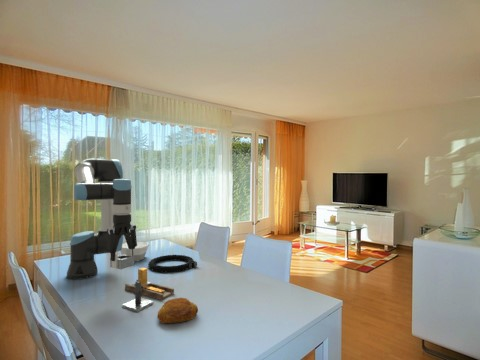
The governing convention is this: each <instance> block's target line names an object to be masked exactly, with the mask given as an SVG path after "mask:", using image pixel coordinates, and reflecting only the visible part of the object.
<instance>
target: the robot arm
mask: <svg viewBox="0 0 480 360" xmlns="http://www.w3.org/2000/svg"><path fill="white" fill-rule="evenodd" d="M123 170H124V169H123V165H122V163H121V161H120V160H119V159H113V158H87V159H84V160H82V161H80V162H79V163H77V164H76V165H75V166H74V169H73V175H74V176H75V178H76V180H77V182H76V183H74V185H73V200H75V201H82V202H83V201H95V200H96V201H98V200H100V214H101V215H100V216H101V217H100V220H101V222H100V228H99V229H98V230H97V233H95V231H93V230H87V231H81V232H77V233H75V234H73V235H72V236H71V237H70V243H69V245H70V259H69V260H70V263H69V265H68V267H67V271H66V278H67V279H69V280H83V279H84V280H85V279H87V278H91V277H94V276H96V275H97V274H98V271H99V270H98V266H97V264H96V260H95V255H100V254H101V255H103V254H110V258H111V261H112V267H111V268H112V269H115V270H116V268H117V259H118V256H119V254H118V252H121V251H120V250H121V248H122V244H124V239H125V243H127V245H128V248H129V249H127V255H129V256H133V249H135V247H136V246H137V242H138V240H137V231H136V230H137V225H136V224H135V225H134V224H131V222H132V214H131V213H132V188H133V187H132V181H131V179H130V178H127V179H126V178H125V179H124V173H123ZM96 180H97V182H96Z"/></svg>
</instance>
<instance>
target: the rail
mask: <svg viewBox="0 0 480 360" xmlns="http://www.w3.org/2000/svg"><path fill="white" fill-rule="evenodd" d="M137 281H138V279H136V282H137ZM150 283H151V287H154V288H158V289H161V290H164V292H163V293H158V292H155V291H151V290H147V289H144V288H141V295H144V296H147V297H150V298H153V297H154V298H153V299H157V300H161V301H163V300H165V299H167V298H168V297H171V296H172V295H174V294H175V289H174V288H173V287H169V286H165V285H162V284H157V283H154V282H150ZM134 284H135V283H132V284H129V283H126V284H124V290H127V291H129V292H133V293H135V286H134Z"/></svg>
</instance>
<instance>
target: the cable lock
mask: <svg viewBox="0 0 480 360" xmlns="http://www.w3.org/2000/svg"><path fill="white" fill-rule="evenodd" d="M166 261H169V262H170V261H182V262H186V263H184V264H178V265H157V264H159V263H162V262H166ZM197 267H198V262H197V260H195V259H193V258H192V257H191V256H188V255H184V254H183V255H182V254H167V255H160V256H158V257H154V258H152V259H150V261H149V262H148V268H149V269H150V270H151V271H152V272H153V271H154V272H158V273H177V272H183V271H186V270H189V269H194V268H195V269H196V268H197Z"/></svg>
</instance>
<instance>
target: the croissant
mask: <svg viewBox="0 0 480 360" xmlns="http://www.w3.org/2000/svg"><path fill="white" fill-rule="evenodd" d="M198 312H199V309H198V305H197V304H195V303H194V302H192V301H190V300H189V299H187V298H185V297H176V298H172V299H168V300H167V301H165V302H164V303H163V305H161V307H160V309H159V310H158V311H157V320H159V322H160V323H161V324H175V323H182V322H183V323H184V322H186V321H187V322H188V321H190V320H193V319H194V318H196V316H197V314H198Z"/></svg>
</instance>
